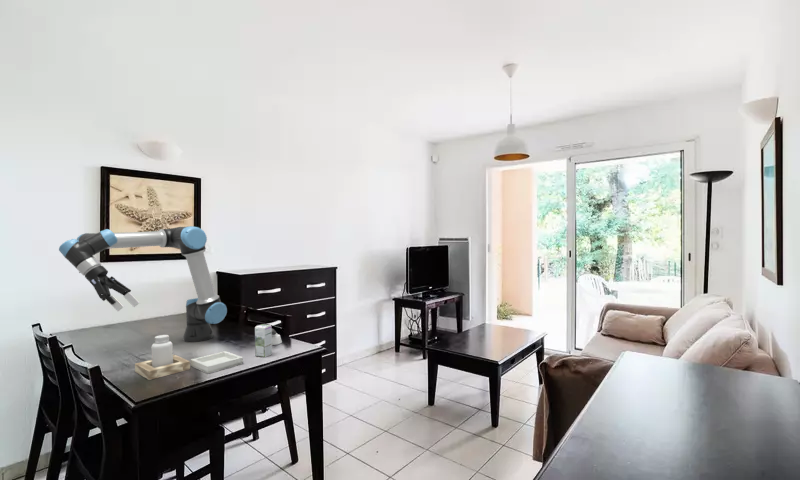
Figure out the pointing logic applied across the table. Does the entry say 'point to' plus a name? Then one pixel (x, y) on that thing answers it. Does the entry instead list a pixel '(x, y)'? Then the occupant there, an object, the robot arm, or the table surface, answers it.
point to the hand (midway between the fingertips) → (129, 306)
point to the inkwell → (275, 338)
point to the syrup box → (263, 340)
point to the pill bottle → (162, 351)
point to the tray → (216, 362)
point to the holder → (162, 368)
